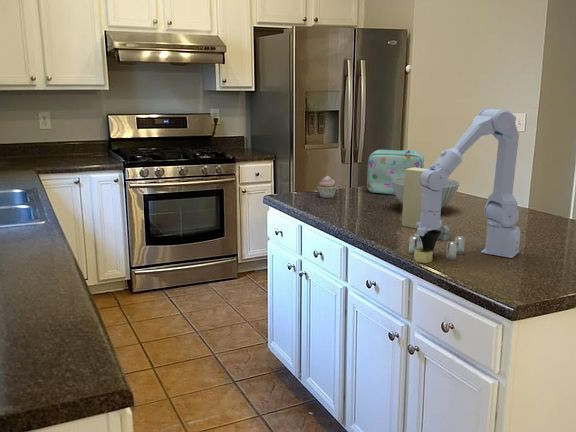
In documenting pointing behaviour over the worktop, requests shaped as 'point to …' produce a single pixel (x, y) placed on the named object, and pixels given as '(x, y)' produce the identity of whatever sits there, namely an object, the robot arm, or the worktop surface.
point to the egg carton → (444, 233)
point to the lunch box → (390, 168)
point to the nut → (423, 255)
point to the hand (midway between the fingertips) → (428, 254)
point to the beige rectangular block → (412, 197)
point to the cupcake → (327, 187)
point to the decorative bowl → (447, 191)
